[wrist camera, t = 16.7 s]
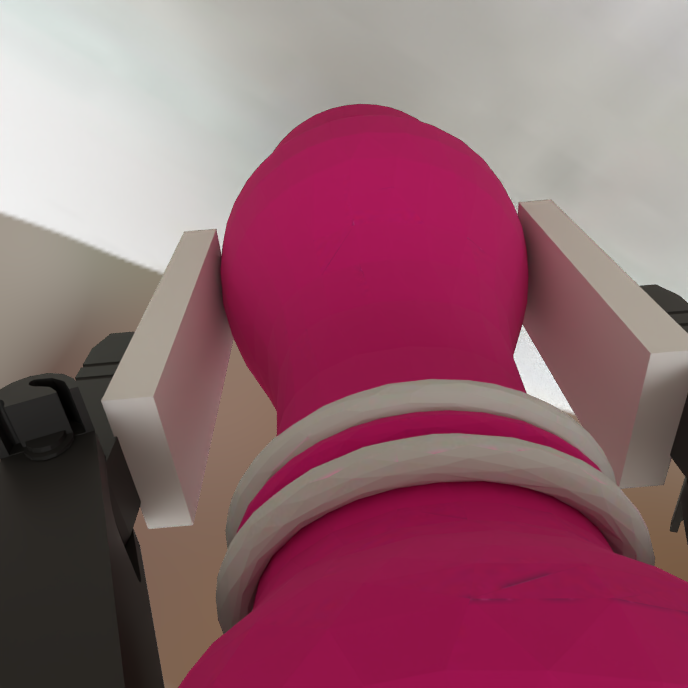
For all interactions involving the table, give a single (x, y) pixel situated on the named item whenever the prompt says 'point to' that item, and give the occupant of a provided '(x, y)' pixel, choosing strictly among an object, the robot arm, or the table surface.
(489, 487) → the pepper mill
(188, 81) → the table surface
